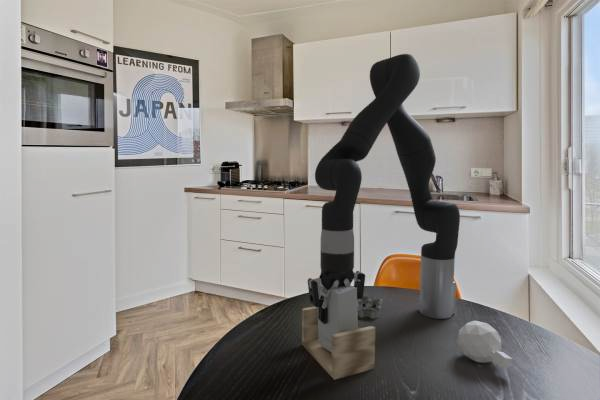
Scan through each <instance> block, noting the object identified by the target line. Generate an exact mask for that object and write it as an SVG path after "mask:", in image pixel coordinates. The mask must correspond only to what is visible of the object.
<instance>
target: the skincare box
mask: <svg viewBox="0 0 600 400" xmlns="http://www.w3.org/2000/svg"><path fill="white" fill-rule="evenodd" d="M322 288H323V292H324V293H326V294H327V293H328V291H329V290H327V289H325V288H324V287H323V285H322V283H320V285H319V288H318V294H319V296H320V291H321V289H322ZM357 301H358V300H357V288H356V287H354V285H351V286H348V287H345V286H343V287H338V288H336V289H333V290H331V299H330V300H329V302H328V304H327V307H326V308H327V324H323V323H322V322H321V321H320V320H319V318H318V340H319V343H318V344H319V345H321V346H323V347H324V348H326V349H327V350H329V351H330V352H332V335H333V334H337V333H342V332H346V331H351V330H355V329H359V322H358V321H359V320H358V317H359V316H358V312H357ZM317 310H318V307H317Z"/></svg>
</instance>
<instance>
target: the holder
mask: <svg viewBox="0 0 600 400" xmlns="http://www.w3.org/2000/svg"><path fill="white" fill-rule="evenodd" d="M318 343H319V340H318V310H317V307H315V306H314V305H313V306H310V307H304V308H301V345H302V347H304V348H305V350H306V351H307V352H308V353H309V354H310V355H311V356H312V357H313V358H314V360H315V361H316V362H318V364H319V365H320V366H321V367H322V368H323V370H325V371H326V373H327V374H328V375H329V376H330V377H331V378H332V379H333V380H334V381H335V380H338V379H342V378H346V377H349V376H354V375H356V374H360V373H363V372H367V371H371V370H373V369H375V364H376V363H375V360H376V359H375V356H376V327H375V326H373V325H370V326H365V327H359V328H358V329H355V330H351V331H346V332H342V333H337V334H333V335H332V352H330V351H329V350H327V349H326V348H324V347H323V346H321V345H319V344H318Z"/></svg>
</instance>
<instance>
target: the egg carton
mask: <svg viewBox="0 0 600 400" xmlns="http://www.w3.org/2000/svg"><path fill="white" fill-rule="evenodd" d="M383 302H384V299H383V298H378V297H377V298H374V297H372V298H371V299H370V298H369V297H368V296H367V295H365V294H363V298H362V299H358V300H357V312H358V317H359V318H364V317H368V318H370V319H374V320H375V319H378V318H380V313H381V309H382V304H383ZM363 304H365V305H364V307H363ZM374 305H376V306H374ZM372 306H373V307H374V308H373V307H372Z"/></svg>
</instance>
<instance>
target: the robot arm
mask: <svg viewBox="0 0 600 400" xmlns="http://www.w3.org/2000/svg"><path fill="white" fill-rule="evenodd" d="M420 78H421V69H420V64H419V62H418V60H417V58H416V57H415V56H413V54H410V53H402V54H398V55H394V56H392V57H391V56H390V57H388V58H385V59H382V60H378V61H376V62H375V63H373V65H371V67H370V70H369V82H370V87H371V90H372V92H373V95H374V97H375V98H374V99H372V101H371V102H370V103H368V104H367V105H366V106H365V107H364V108H363V109H362V110H361V111H359V113H357V115H356V116H355V117H354V118H353V119H352V120H351V122H350V124H349V125H348V127H347V129H345V132H344V134H343V135H342V136H341V138H340V140H339V141H338V142H337V143H335V145H333V146H332V147H331V148H330V149H329V150H328V152H326V153H325V154H324V156H323V157H322V158H321V159H320V160H319V162H318V164H317V166H316V167H315V172H314V180H315V183H316V184H317V186H318V187H319V188H320V189H322V190H325V191H335V193H334V194H335V195H334V198H333V199H332V200H331V201H328V202H325V203H324V204H323V205H322V207H321V230H320V231H321V232H320V264H319V265H320V275H319V276H318V277H317V278H312V277H310V278H308V279H307V288H308V297H309V303H310V304H312V305H313V307H314V306H315V307H318V318H319V320H320V321H321V322H322V323H323V324H327V308H326V307H327V304H328V302H329V300H330V299H331V290H333V289H336V288H338V287H343V286H345V287H348V286H352V283H353V281H354V283H353V287H356V288H357V301H358V299H362V298H363V295H364V290H365V283H366V274H365V273H363V272H361V271H359V270H357V271H355V272H354V268H355V234H354V210H355V206H356V204H357V200H358V196H359V191H360V188H361V185H362V181H363V180H362V179H363V178H362V175H363V174H362V170H361V167H360V166H359V164H358V162H359V161H363V160H365V158H367V156H368V154H369V153H370V151H371V150H372V148H373V146H374V144H375V142H376V141H377V139H378V137H379V135H380V134H381V133H382V130H384V127H385V126H386V124H387V127H388V130H389V132H390V134H391V135H390V136H391V138H392V141H393V143H394V147H395V150H396V154H397V157H398V159H399V164H400V165H401V168H402V171H403V175H404V177H405V179H406V180H405V181H406V184H407V186H408V191H409V193H410V198H411V203H412V207H413V213H414V217H415V220H416V224H417V225H418V226H419V228H420V229H421V230H423V231H425V232H430V233H435V234H436V238H435V240H434V241H433V242H429V243H424V244H423V245H422V246H421V249H420V250H421V252H420V273H419V274H420V277H419V278H420V279H419V280H420V281H419V303H418V304H419V309H418V310H419V311H418V312H419V313H420V314H421V315H423V316H425V317H428V318H431V319H438V320H439V319H440V320H441V319H442V320H445V319H450V318H451V317H452V316H453V315H454V314H456V313H455V312H456V295H457V294H456V293H457V282H456V281H454V280H455V259H456V252H457V248H458V242H459V233H460V231H459V230H460V223H461V222H460V221H461V214H460V210H459V207H458V205H457V204H455V203H454V202H450V201H440V200H434V198H433V196H432V192H431V189H430V181H431V179H432V176H433V172H434V168H435V166H436V160H437V158H436V154H435V149H434V147H433V143H432V140H431V137H430V135H429V133H428V131H426V129H425V127H423V126H422V125H421V124H420V123H419V122H418V121H417V120H416V119H415V118H413V117H412V115H411V114H409V112H408V111H407V109H406V107H405V106H404V104H403V103H404V102H405V101H406V100H407V99H408V98H409V96H410V95H411V94H412V93H413V91H414V90H415V89H416V87H417V86H418V84H419V81H420ZM320 283H322V285H323V287H324V288H325V289H327V290H329V291H328V293H327V294H326V293H324V292H323V288H322V289H321V291H320V296H319V294H318V288H319V285H320Z"/></svg>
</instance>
